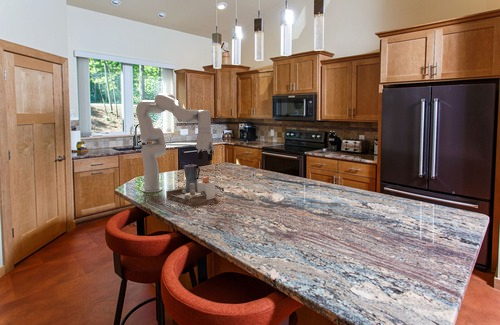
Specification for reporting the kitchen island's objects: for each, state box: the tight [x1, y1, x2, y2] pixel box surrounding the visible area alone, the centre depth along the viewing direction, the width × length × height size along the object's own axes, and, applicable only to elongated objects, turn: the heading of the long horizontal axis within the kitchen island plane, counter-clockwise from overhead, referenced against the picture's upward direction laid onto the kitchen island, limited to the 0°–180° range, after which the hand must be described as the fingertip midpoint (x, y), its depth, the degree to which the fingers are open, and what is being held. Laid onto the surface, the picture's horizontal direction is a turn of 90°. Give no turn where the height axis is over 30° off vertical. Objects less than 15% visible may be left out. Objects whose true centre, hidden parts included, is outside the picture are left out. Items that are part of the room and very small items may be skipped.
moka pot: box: [182, 161, 201, 193], centre depth 217 cm, size 10×15×20 cm, turn 55°
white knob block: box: [197, 180, 216, 201], centre depth 202 cm, size 8×8×10 cm
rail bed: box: [165, 187, 208, 207], centre depth 198 cm, size 24×11×4 cm, turn 49°
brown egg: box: [201, 176, 210, 183], centre depth 201 cm, size 4×4×4 cm
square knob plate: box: [184, 184, 201, 199], centre depth 193 cm, size 7×7×9 cm
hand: (205, 159), depth 199 cm, fingers open, 7 cm apart
